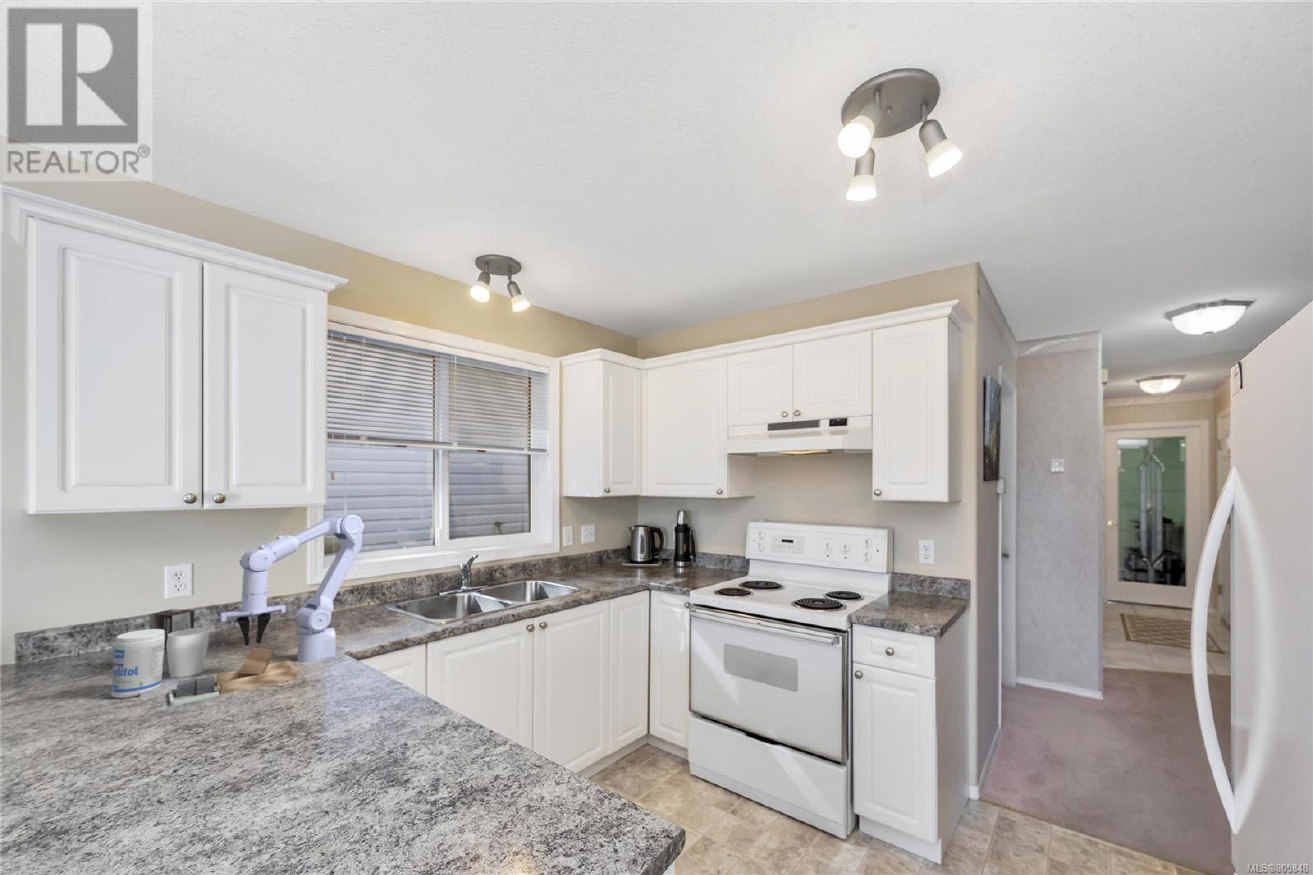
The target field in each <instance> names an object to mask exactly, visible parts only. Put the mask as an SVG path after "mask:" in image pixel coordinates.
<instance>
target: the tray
mask: <svg viewBox="0 0 1313 875" xmlns="http://www.w3.org/2000/svg"><path fill="white" fill-rule="evenodd" d="M167 694H168V699H169V705H170V706H171V707H172V706H179V705H181V704H182V705H183V704H185V703H186V704H187V703H190V702H195V701H196V702H197V701H201V700H206V699H209V698H214V697H218V696H220V691H219V690H218V691H214V692H210V693H205V694H200V695H194V696H191V697H186V698H181V699H177V700H175V698H174V694H177V687H176V688H171V689H168V692H167Z"/></svg>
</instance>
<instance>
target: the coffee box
mask: <svg viewBox="0 0 1313 875" xmlns="http://www.w3.org/2000/svg"><path fill="white" fill-rule="evenodd" d="M148 623H149V624H148V629H162V630H164V631H165V644H164V657H163V669H162V673H167V674H170V672H169V665H168V657H167V649H166V645H167V638H168V634H170V633H172V632H175V631H180V630H185V629H192V628H195V626H194V624H195V610H190V609H175V608H174V609H173V608H172V609H167V610H162V611H158V612H154V613H150V614H149V620H148Z"/></svg>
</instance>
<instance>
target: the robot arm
mask: <svg viewBox="0 0 1313 875" xmlns="http://www.w3.org/2000/svg"><path fill="white" fill-rule="evenodd" d="M364 529H365V525H364V523H363V520H362V518H361V517H360V516H358V515H356V514H343V513H338V514H334V515H333V516H329V517H327V518H324V519H323V520H320V521H319V522H317V523H315V524H314V525H311V526H309V527H308V528H305V529H304V530H302V531H300V532H298V533H296V534H295V535H293V536H292V535H289V534H285V535H282V534H279V535H277V536H276V539H275V540H272V541H269V542H268V543H266V544H265V543H262V544H260V545H258V549H257V548H256V549H255V548H252V549H249V550H247V551H246V552H244V554H243V555H242V556H241V557H240V558H241V559H240V560H239V565H240V566H241V568H242V569H243V571H242V572H243V573H242V574H243V575H242V587H241V588H242V591H241V608H240V609H237V610H234V611H227V612H221V613H220V622H222V623H223V622H227V621H232V620H236V622H237V624H238V626H239V627H240V628H239V629H240V630H241V634H242V637H243V641H244V646H249V644H250V635H249V634H250V623H251V621H250V618H255V617H257V629H256V630H257V631H256V643H257V644H261V643H262V638H263V636H264V632H265V630H266V628H267V626H268V625H269V623H270V621H271V619H272V616H271V615H274V614H285V613H286V612H287V611H286V608H287V607H286V604H281V605H269V606H268V588H269V587H268V585H269V584H268V583H269V569H270V567H271V566H272V565H273V564H274V563H277V562H278V561H280V560H282V559H284V558H287V557H288V556H290V555H292V554H294V553H296V552H297V551H298V548H299V546H301V545H304V544H306V543H308V542H310V541H312V540H314V539H317V538H320V537H321V536H324V535H326V534H332V535H334V536H335V538H336V539H337V540H338V544H339V545H340V548H339V550H338V552H337V554H336V555H335V557H334V559H333V561H332V563H331V564H330V566H329V568H328V569H327V572H326V574H325V575H324V577H323V579H322V581H321V582H320V584H319V586H318V588H317V590H316V591H315V594H314V595H313V596H312V597H310V598H309V599H307V601H306V602H305V604H304V605H303V606H302V607H301V608H300V609H299V610H297V612H296V614H295V617H294V620H295V623H296V625H297V626H298V628H299V629H298V634H297V658H296V660H297V662H299V663H309V662H310V663H311V662H315V661H320V660H323V659H329V658H333V657H336V641H337V640H336V637H337V636H336V630H335V628H334V627H328V626H329V625H330V624H331V620H332V613H333V611H334V609H335V608H334V607H335V606H334V599H335V598H336V596H337V595H338V592H339V590H340V588H341V586H342V584H343V583H344V581H345V579H346V576H347V575H348V573H349V572H350V569H351V567H352V565H353V564H354V562H355V561H356V558H357V556H358V554H359V552H360V551H361V549H362V545H363V531H364Z"/></svg>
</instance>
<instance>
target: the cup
mask: <svg viewBox="0 0 1313 875" xmlns="http://www.w3.org/2000/svg"><path fill="white" fill-rule="evenodd" d="M209 637H210V636H209V628H207V627H194V628H192V629H185V630H180V631H175V632H172V633H170V634H168V638H167V645H166V649H167V657H168V665H169V672H170V673H169V678H170V679H171V678H184V677H189V676H193V675H196V674H200V673H203V668H204V664H205V660H206V659H205V658H206V655H207V651H208V646H209V642H210V641H209Z"/></svg>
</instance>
